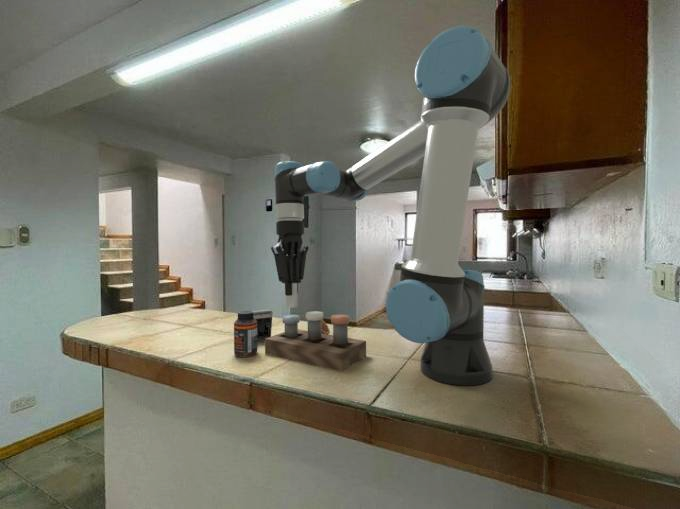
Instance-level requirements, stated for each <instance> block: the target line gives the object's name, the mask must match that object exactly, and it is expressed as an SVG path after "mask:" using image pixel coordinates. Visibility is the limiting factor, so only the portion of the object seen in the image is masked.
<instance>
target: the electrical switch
mask: <svg viewBox="0 0 680 509" xmlns="http://www.w3.org/2000/svg"><path fill="white" fill-rule="evenodd" d="M252 311H253V315H254V316H253V318H254V319H255V320H256V321H257V342H262V341H265V338H268V337H271V336H272V325H273V311H272V310H271V309H262V310H260V309H259V310H252Z"/></svg>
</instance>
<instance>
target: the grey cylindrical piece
mask: <svg viewBox="0 0 680 509" xmlns="http://www.w3.org/2000/svg"><path fill="white" fill-rule="evenodd" d="M300 319H301V318H300V315H299V314H286V315H283V316H282V324H284V332H285V338H290V339H294V338H296V337H298V330H299V323H300V321H301V320H300Z"/></svg>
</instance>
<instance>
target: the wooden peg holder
mask: <svg viewBox="0 0 680 509" xmlns="http://www.w3.org/2000/svg"><path fill="white" fill-rule="evenodd" d="M264 351H265V352H264V354H266V355H271V356H274V357H279V358H283V359H286V360H292V361H296V362H300V363H304V364H310V365H311V366H312V365H313V366H315V367H316V366H317V367H321V368H326V369H329V370H334V371H338V372H343V371H345V370H346V369H348V368H350V367H351V366H353V365H354V364H355V363H357V362H359V361H361V360H362V359H364V358H366V357H367V340H363V339H357V338H351V337H348V343H347V344H342V345H338V344H334V343H333V334H322V338H321V339H318V340H311V339H308V330H305V329H304V330H303V329H298V337H296V338H294V339H290V338H285V331H284V332H281V333H278V334H275V335H271V337H268V338H265V340H264Z"/></svg>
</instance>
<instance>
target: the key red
mask: <svg viewBox="0 0 680 509" xmlns="http://www.w3.org/2000/svg"><path fill="white" fill-rule="evenodd" d="M350 317H351V316H350V315H348V314H333V315H331V316H330V323H331V324H332V330H333V331H332V332H333V333H332V335H333V343H334V344H338V345H342V344H347V343H348V338H349V337H348V334H349V332H348V327H349V326H348V324H350Z"/></svg>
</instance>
